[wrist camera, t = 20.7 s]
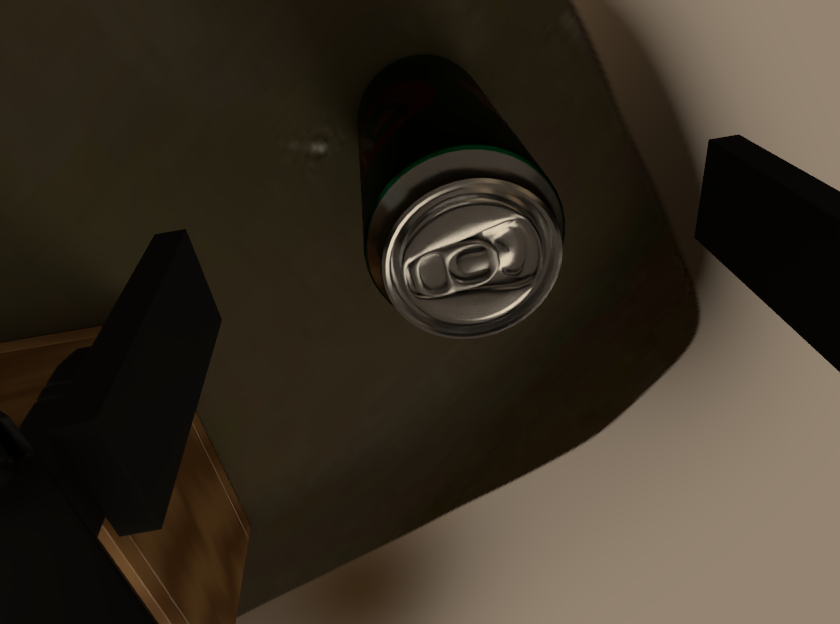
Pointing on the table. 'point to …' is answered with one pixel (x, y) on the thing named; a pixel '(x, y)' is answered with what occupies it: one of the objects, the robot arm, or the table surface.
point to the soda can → (452, 203)
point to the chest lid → (139, 575)
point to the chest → (189, 505)
